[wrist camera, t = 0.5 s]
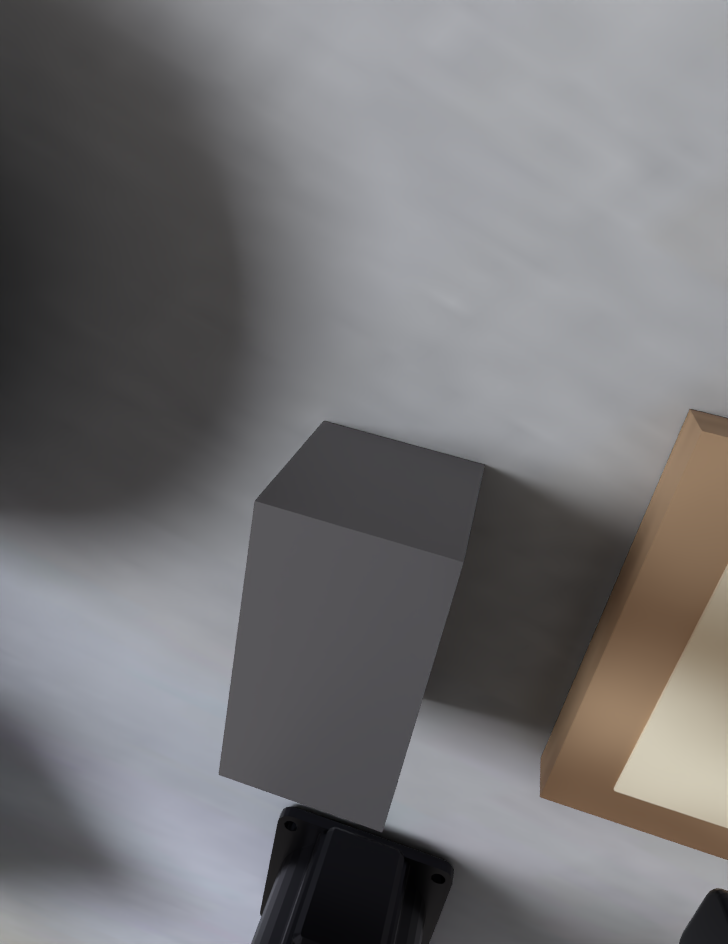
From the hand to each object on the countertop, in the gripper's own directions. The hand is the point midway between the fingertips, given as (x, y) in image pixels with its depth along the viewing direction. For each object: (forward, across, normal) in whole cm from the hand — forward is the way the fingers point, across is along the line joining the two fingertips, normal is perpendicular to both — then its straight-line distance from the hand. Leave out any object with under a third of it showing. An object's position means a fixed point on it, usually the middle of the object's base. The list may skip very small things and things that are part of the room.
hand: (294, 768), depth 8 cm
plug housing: (+12, +1, +5) cm, 13 cm away
